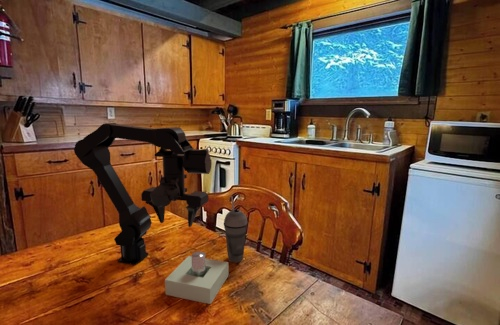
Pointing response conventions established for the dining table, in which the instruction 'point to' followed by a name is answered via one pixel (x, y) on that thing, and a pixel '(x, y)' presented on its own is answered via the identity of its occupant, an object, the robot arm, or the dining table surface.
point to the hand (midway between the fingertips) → (175, 224)
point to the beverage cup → (235, 234)
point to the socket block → (197, 281)
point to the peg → (199, 264)
